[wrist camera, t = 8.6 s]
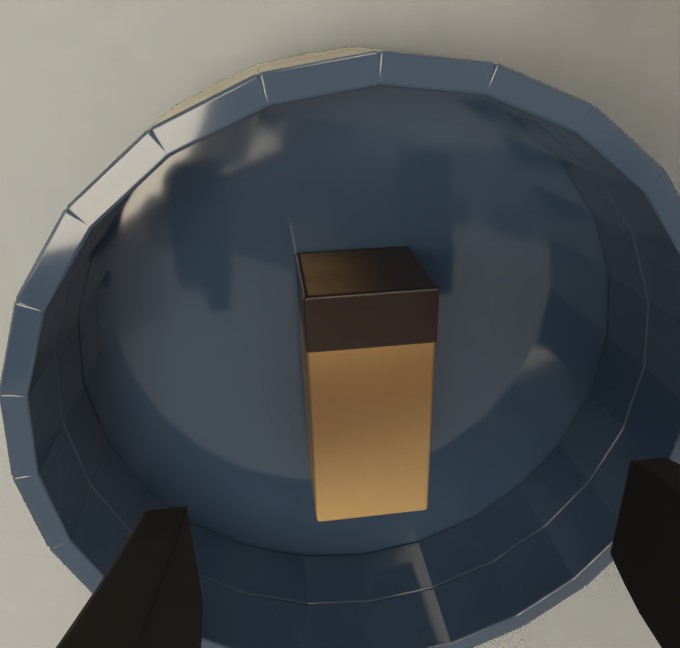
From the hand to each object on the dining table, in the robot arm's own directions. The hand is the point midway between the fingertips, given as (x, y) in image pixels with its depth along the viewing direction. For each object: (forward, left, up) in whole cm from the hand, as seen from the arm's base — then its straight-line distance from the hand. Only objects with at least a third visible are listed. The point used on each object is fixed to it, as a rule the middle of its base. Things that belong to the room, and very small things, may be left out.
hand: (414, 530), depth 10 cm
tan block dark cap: (0, 0, -6) cm, 6 cm away
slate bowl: (0, 0, -7) cm, 7 cm away
